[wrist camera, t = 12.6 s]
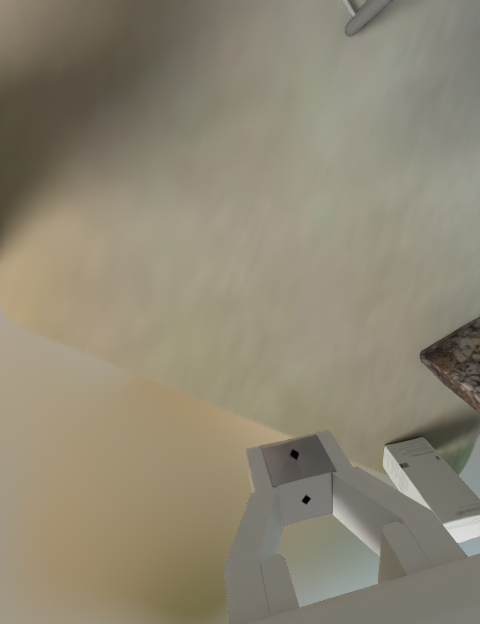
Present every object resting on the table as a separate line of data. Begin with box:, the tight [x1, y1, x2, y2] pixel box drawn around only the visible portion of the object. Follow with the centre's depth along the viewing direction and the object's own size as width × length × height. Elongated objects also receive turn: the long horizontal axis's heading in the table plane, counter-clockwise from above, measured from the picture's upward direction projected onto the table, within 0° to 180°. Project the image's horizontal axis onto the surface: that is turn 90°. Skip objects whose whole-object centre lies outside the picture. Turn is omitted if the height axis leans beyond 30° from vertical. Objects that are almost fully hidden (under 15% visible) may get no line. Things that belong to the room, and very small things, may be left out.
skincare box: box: [383, 437, 480, 543], centre depth 52 cm, size 8×6×15 cm
